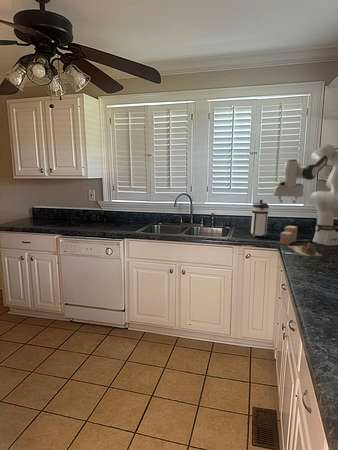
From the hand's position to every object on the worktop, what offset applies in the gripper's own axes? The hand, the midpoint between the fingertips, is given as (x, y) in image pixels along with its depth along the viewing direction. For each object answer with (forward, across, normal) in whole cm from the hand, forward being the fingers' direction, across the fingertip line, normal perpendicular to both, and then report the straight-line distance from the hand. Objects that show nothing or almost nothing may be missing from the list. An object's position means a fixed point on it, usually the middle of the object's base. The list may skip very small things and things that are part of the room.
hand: (287, 202), depth 220 cm
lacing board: (+31, -7, +19) cm, 37 cm away
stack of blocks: (+32, -6, -6) cm, 33 cm away
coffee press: (+31, +10, -30) cm, 45 cm away
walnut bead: (+30, -7, +25) cm, 39 cm away
